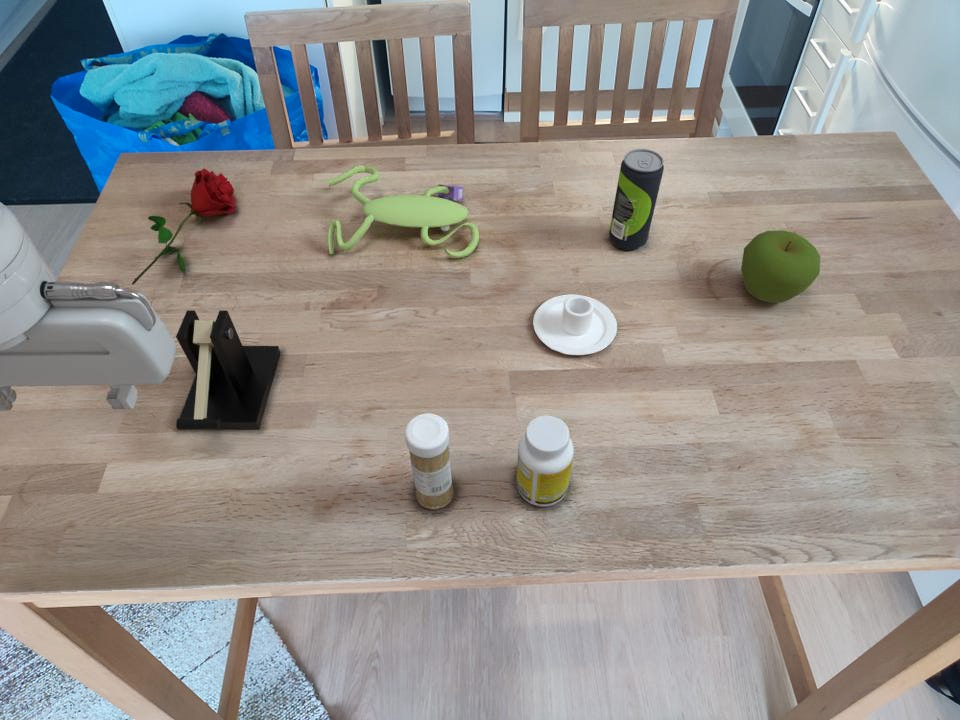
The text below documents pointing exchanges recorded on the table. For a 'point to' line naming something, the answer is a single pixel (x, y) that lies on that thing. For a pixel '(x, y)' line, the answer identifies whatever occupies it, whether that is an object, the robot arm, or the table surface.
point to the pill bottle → (544, 461)
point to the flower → (197, 208)
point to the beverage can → (635, 198)
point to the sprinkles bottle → (430, 460)
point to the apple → (779, 265)
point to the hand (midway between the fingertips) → (66, 403)
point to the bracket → (230, 374)
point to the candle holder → (575, 324)
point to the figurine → (407, 212)
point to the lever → (202, 381)
